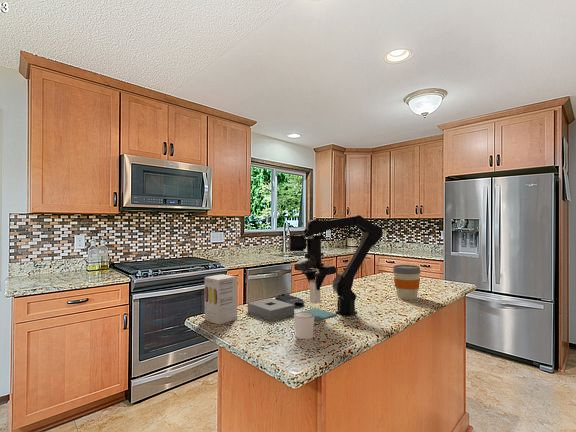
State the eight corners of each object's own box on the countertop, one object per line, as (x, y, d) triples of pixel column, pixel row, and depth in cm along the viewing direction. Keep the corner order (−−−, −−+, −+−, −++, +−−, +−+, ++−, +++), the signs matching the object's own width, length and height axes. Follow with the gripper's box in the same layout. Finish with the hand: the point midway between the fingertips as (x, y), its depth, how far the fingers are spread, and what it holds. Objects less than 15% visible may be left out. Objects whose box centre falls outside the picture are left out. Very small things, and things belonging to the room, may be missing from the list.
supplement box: (203, 320, 124) (203, 276, 124) (222, 314, 131) (222, 273, 131) (218, 325, 118) (218, 279, 118) (238, 319, 124) (237, 276, 125)
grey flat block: (294, 314, 129) (294, 304, 129) (270, 321, 121) (270, 310, 121) (270, 306, 141) (270, 297, 141) (247, 312, 133) (247, 302, 133)
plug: (320, 302, 128) (320, 280, 128) (315, 303, 126) (314, 281, 126) (315, 301, 130) (314, 279, 130) (310, 302, 128) (309, 280, 128)
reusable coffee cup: (423, 296, 156) (422, 265, 157) (418, 301, 146) (417, 269, 146) (397, 293, 163) (396, 264, 163) (390, 298, 152) (389, 267, 153)
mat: (336, 315, 127) (336, 314, 127) (315, 321, 120) (315, 320, 120) (315, 309, 136) (315, 308, 136) (294, 314, 129) (294, 313, 129)
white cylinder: (293, 332, 108) (292, 312, 108) (313, 332, 109) (312, 311, 109) (295, 340, 101) (294, 318, 101) (316, 339, 102) (316, 317, 102)
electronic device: (273, 305, 149) (291, 308, 137) (273, 293, 151) (291, 295, 138) (290, 305, 154) (308, 307, 142) (290, 293, 155) (308, 295, 143)
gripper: (284, 251, 130) (285, 289, 130) (316, 254, 116) (317, 297, 116) (304, 249, 137) (304, 285, 137) (336, 251, 123) (337, 292, 123)
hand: (315, 289), depth 128 cm, fingers closed on plug, 3 cm apart
